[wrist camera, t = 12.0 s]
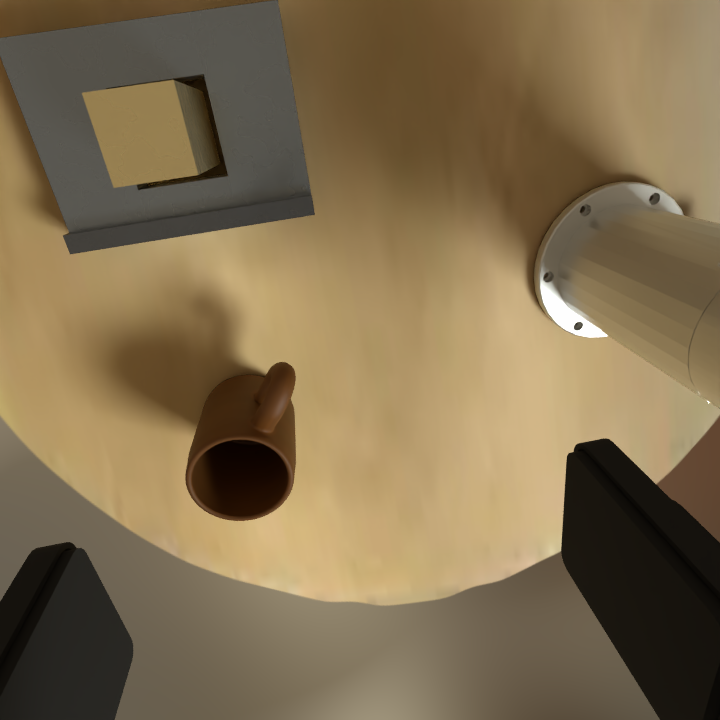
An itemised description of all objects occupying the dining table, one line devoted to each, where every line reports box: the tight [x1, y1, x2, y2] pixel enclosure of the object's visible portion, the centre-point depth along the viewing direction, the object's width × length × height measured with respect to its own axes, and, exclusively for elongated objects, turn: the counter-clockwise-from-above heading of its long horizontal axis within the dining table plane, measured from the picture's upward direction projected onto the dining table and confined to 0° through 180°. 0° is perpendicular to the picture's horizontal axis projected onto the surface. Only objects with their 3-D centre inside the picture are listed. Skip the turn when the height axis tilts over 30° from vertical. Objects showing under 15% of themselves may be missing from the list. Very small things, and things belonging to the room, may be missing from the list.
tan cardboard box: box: [82, 80, 220, 188], centre depth 29 cm, size 4×4×9 cm
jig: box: [0, 0, 315, 254], centre depth 31 cm, size 16×12×4 cm
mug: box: [186, 362, 296, 521], centre depth 38 cm, size 12×8×9 cm, turn 153°
